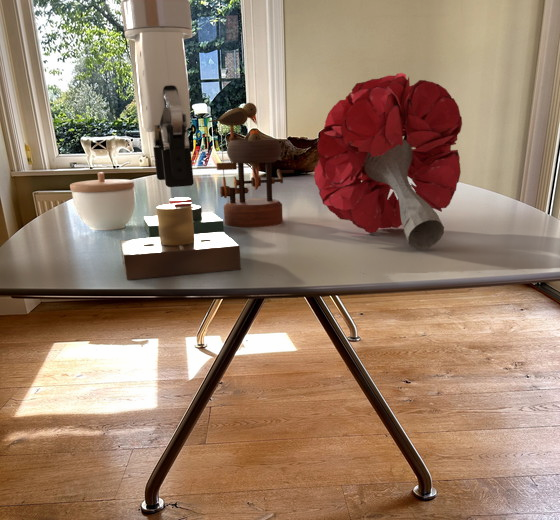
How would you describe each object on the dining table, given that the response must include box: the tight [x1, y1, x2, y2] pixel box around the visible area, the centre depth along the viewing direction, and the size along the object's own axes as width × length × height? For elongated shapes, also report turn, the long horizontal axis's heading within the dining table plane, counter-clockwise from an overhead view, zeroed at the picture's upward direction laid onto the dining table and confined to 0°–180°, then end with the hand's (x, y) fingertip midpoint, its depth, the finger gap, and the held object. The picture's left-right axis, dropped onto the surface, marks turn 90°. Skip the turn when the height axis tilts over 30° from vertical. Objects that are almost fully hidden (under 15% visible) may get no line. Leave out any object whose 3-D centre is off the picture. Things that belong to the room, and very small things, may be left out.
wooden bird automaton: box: [208, 102, 295, 228], centre depth 104 cm, size 15×11×20 cm
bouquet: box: [313, 72, 463, 250], centre depth 89 cm, size 22×24×30 cm
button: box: [169, 197, 193, 204], centre depth 99 cm, size 4×4×2 cm
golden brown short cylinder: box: [156, 202, 195, 246], centre depth 75 cm, size 4×4×5 cm
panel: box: [119, 231, 242, 281], centre depth 77 cm, size 14×10×3 cm
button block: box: [142, 204, 225, 238], centre depth 100 cm, size 12×10×4 cm
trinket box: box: [69, 171, 136, 232], centre depth 104 cm, size 11×11×9 cm
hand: (174, 182), depth 73 cm, fingers open, 9 cm apart
